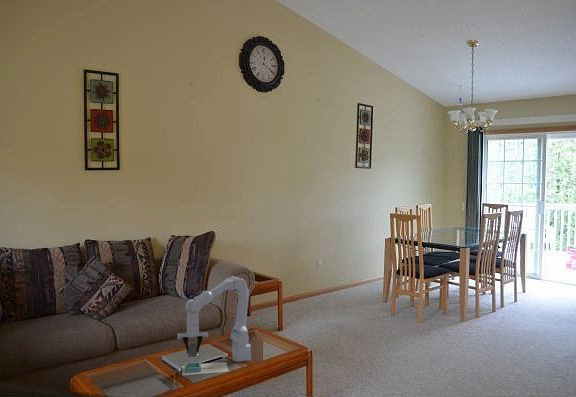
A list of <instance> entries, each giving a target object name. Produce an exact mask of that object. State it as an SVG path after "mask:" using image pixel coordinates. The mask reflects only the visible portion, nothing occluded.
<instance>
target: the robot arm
mask: <svg viewBox="0 0 576 397" xmlns="http://www.w3.org/2000/svg"><path fill="white" fill-rule="evenodd" d="M226 290H230V291H232V290H233V291H234V292H235V293H236V294H237V295H238V297H237V305H236V306H237V307H236V314H235V315H236V316H235V324H234V326H232V330H231V333H230V341H232V361H233V362H235V363H236V362H237V363H238V362H239V363H240V362H248V361H252V352H251V351H252V349H251V348H252V347H251V343H249V340H250V337H249V334H248V333H249V332H248V331H249V330H248V328H247V319H248V318H247V316H248V309H249V298H250V290H249V288H248V282H247V281H246V280H245V279H244V278H241V277H237V276H235V275H231V276H229V277H228V278H225V280H223V281H222V282H220V283H219V284H217V285H216V286H215V287H213V288H212V289H210V290H205V291H204V290H203V291H201V294H198V295H197V296H194V297H193V298H189V299H188V300H187V301H186V303H185V305H184V308H185V310H186V332H182V333H177V339H178V340H180V339H182V341H183V344H184V346H185V349H186V354H188V344H189V339H191V338H196V342H197V353H199V351H200V347H201V344H202V341H204V340H203V339H204V338H209V333H208V331H200V330H199V328H200V326H199V324H200V322H199V321H200V320H199V318H200V317H199V316H200V311H201V309H202V307H204V306H206V305H207V304H209V303H211V301H213V298H214V297H216V296H217V295H220V294H221V293H223V292H224V291H226Z"/></svg>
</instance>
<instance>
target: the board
mask: <svg viewBox="0 0 576 397" xmlns="http://www.w3.org/2000/svg"><path fill="white" fill-rule="evenodd" d="M184 365H185V366H181V370H182V371H181V372H182V373H181V374H182V375H181V376H190V375H192V376H193V375H202V374H204V375H205V374H215V373H226V372H227V373H228V372H229V373H230V370H229V366H228V363H227V361H223V362H221V361H220V362H209V363H208V362H207V363H201V362H200V361H195V362H184Z"/></svg>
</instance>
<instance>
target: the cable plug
mask: <svg viewBox="0 0 576 397" xmlns="http://www.w3.org/2000/svg"><path fill="white" fill-rule="evenodd" d="M187 354H188V358H190V357H191V358H192V357H198V352H197V341H195V342H194V341H191V342H188V353H187Z"/></svg>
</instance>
